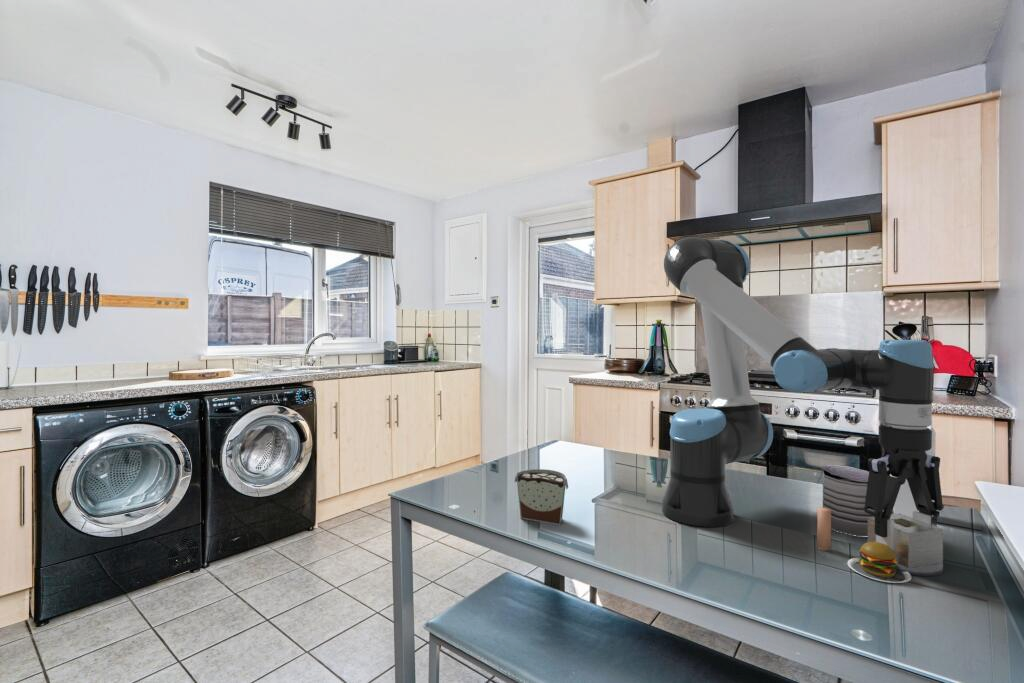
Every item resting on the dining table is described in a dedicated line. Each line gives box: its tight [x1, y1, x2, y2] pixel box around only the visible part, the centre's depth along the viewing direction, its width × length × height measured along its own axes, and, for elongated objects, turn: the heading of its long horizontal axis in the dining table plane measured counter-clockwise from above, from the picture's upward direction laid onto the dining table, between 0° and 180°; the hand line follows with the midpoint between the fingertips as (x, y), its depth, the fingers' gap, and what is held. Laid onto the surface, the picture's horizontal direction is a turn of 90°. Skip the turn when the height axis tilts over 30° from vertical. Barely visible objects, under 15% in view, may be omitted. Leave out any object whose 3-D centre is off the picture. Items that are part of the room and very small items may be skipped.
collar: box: [867, 513, 944, 568], centre depth 90 cm, size 8×8×6 cm
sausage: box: [816, 507, 832, 551], centre depth 95 cm, size 2×2×8 cm
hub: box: [896, 562, 944, 577], centre depth 90 cm, size 11×11×6 cm
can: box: [820, 464, 884, 536], centre depth 106 cm, size 11×11×12 cm
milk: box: [893, 424, 937, 518], centre depth 112 cm, size 6×6×22 cm
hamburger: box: [847, 541, 912, 584], centre depth 86 cm, size 12×12×6 cm
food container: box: [514, 468, 569, 526], centre depth 112 cm, size 12×6×10 cm, turn 65°
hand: (903, 551), depth 90 cm, fingers closed on collar, 8 cm apart
